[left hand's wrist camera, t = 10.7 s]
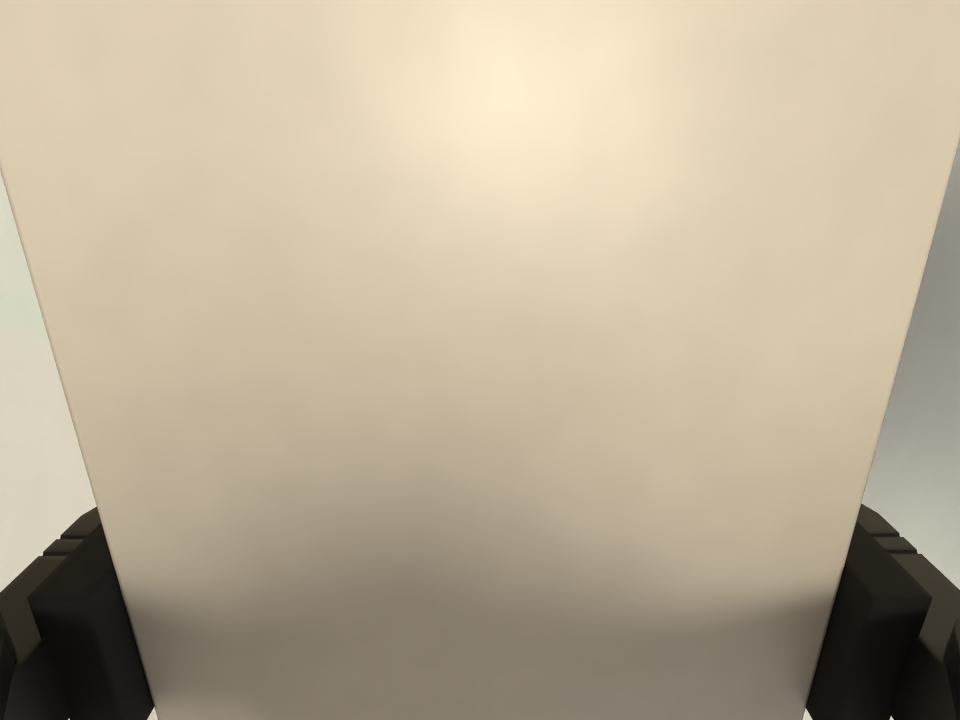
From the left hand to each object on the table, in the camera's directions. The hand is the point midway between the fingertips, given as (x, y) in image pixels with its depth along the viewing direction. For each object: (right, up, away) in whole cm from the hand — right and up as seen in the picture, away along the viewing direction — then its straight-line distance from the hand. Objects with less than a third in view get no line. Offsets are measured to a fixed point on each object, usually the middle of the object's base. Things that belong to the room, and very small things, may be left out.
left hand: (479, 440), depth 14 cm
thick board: (0, +26, -9) cm, 28 cm away
